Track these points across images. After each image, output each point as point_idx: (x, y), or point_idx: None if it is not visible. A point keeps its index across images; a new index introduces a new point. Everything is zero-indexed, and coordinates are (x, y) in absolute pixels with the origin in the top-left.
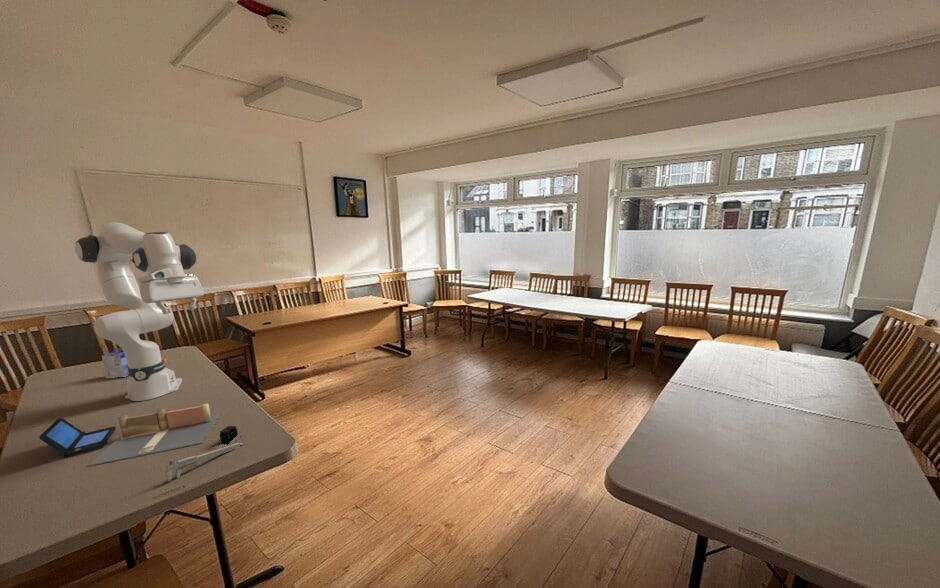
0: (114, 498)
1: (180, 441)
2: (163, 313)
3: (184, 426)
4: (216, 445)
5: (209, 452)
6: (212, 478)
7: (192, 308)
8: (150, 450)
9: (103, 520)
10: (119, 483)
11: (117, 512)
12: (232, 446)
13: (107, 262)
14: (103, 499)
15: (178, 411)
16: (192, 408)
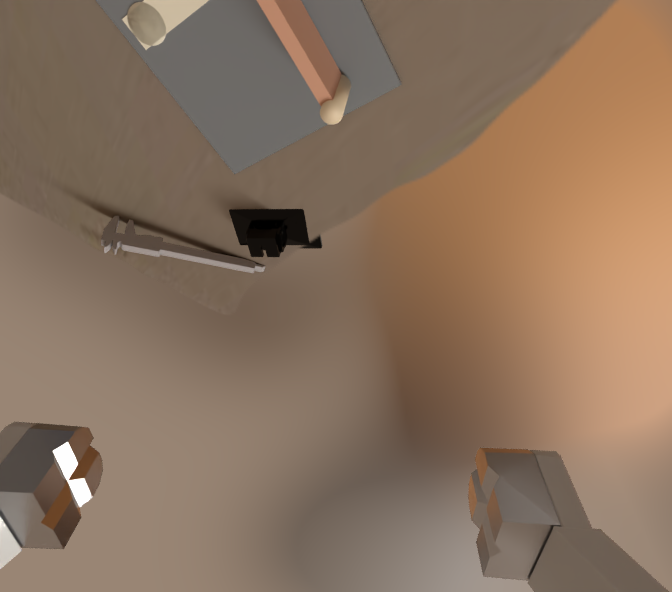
0: (32, 153)
1: (217, 103)
2: (10, 434)
3: None
4: (239, 217)
5: (189, 256)
6: (162, 282)
7: (472, 508)
8: (149, 46)
9: (7, 193)
10: (50, 109)
11: (28, 198)
12: (236, 268)
13: None
14: (15, 131)
15: (272, 23)
16: (302, 74)
